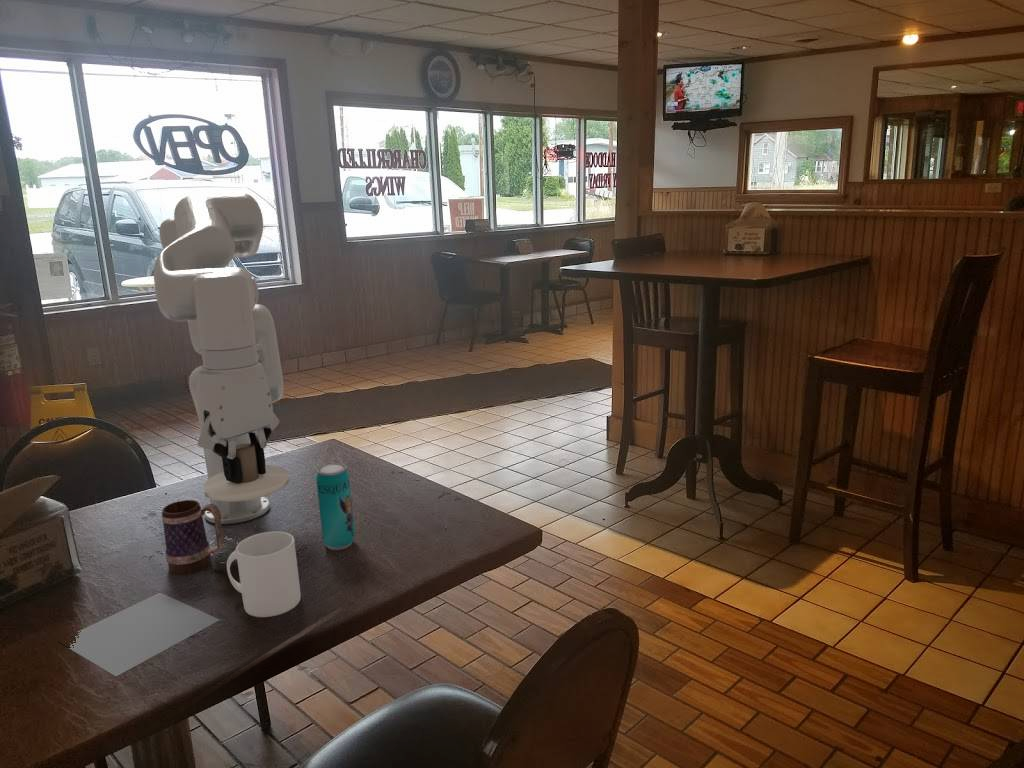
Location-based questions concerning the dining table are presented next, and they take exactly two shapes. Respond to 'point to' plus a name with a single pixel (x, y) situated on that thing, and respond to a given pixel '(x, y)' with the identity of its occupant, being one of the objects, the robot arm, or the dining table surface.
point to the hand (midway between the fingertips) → (246, 476)
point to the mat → (139, 633)
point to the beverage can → (335, 506)
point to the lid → (247, 479)
